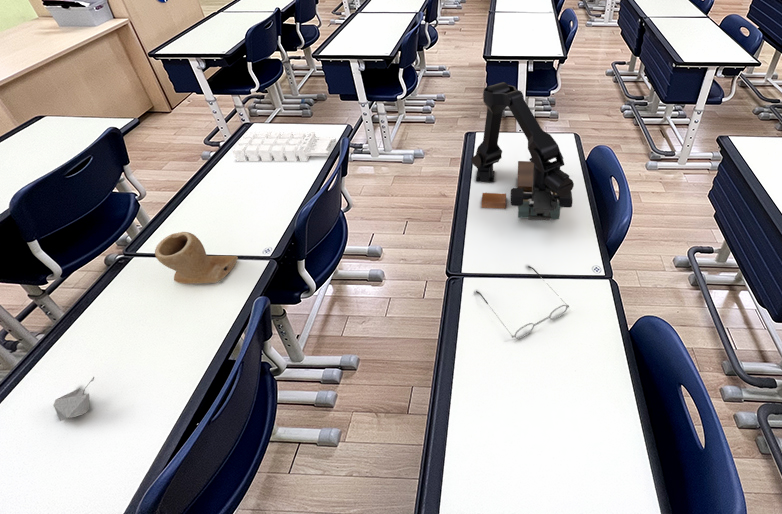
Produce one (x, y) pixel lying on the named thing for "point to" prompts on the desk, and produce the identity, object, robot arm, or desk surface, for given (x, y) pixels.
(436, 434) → the desk surface
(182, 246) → the clay pipe
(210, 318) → the desk surface
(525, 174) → the cabinet
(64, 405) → the grey faceted ornament
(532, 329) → the eyeglasses
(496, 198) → the brown rectangular box
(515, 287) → the desk surface
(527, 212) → the drawer
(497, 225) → the desk surface
